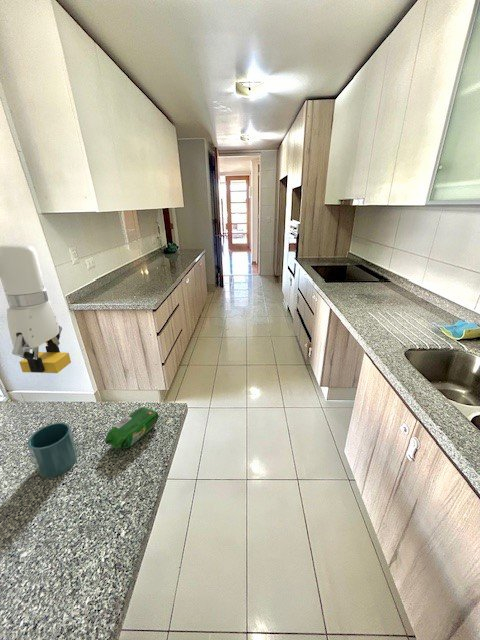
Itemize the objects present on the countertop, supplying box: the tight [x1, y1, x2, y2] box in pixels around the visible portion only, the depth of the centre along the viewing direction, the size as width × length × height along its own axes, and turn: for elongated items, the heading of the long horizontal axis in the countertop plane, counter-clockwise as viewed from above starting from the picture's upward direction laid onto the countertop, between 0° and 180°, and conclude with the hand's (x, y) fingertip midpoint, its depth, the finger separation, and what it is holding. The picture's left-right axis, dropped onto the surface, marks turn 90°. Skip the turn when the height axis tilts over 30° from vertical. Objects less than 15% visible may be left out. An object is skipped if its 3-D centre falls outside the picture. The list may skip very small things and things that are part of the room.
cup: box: [27, 422, 79, 479], centre depth 63 cm, size 8×8×9 cm
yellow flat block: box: [19, 351, 72, 374], centre depth 67 cm, size 9×6×3 cm, turn 88°
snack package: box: [104, 406, 160, 454], centre depth 72 cm, size 7×16×5 cm, turn 152°
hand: (46, 364), depth 68 cm, fingers closed on yellow flat block, 5 cm apart
